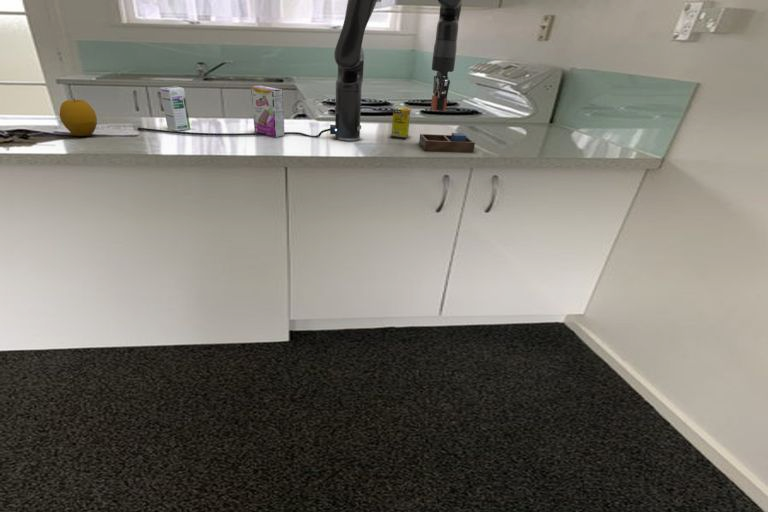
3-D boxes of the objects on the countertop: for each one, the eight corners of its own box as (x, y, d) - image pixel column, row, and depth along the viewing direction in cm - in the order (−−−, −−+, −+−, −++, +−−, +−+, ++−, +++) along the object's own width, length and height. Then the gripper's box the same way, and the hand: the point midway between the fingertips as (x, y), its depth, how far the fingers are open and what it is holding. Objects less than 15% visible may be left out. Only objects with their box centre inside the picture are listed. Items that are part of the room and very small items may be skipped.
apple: (80, 141, 132) (70, 101, 127) (57, 137, 135) (46, 98, 129) (107, 135, 140) (98, 98, 135) (85, 131, 143) (76, 95, 137)
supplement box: (406, 139, 163) (408, 110, 158) (391, 137, 164) (393, 108, 159) (408, 136, 169) (410, 108, 164) (393, 134, 170) (395, 106, 164)
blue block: (453, 147, 153) (454, 135, 151) (450, 144, 157) (451, 132, 155) (464, 147, 154) (466, 135, 152) (461, 145, 158) (463, 133, 156)
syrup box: (176, 131, 151) (169, 88, 144) (166, 128, 154) (159, 86, 147) (190, 129, 156) (184, 87, 149) (181, 126, 158) (174, 85, 151)
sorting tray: (424, 150, 149) (425, 140, 148) (419, 143, 159) (420, 133, 157) (473, 152, 152) (475, 142, 150) (464, 145, 161) (466, 135, 160)
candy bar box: (253, 132, 157) (249, 86, 149) (263, 130, 161) (260, 85, 153) (275, 138, 152) (272, 89, 144) (285, 136, 156) (283, 88, 148)
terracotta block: (433, 110, 146) (434, 97, 144) (430, 108, 150) (432, 95, 148) (445, 111, 146) (447, 97, 144) (442, 108, 150) (444, 95, 148)
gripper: (428, 53, 146) (423, 105, 154) (438, 56, 133) (432, 112, 141) (449, 55, 147) (443, 106, 155) (461, 57, 134) (453, 113, 142)
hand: (438, 108), depth 148 cm, fingers closed on terracotta block, 4 cm apart
